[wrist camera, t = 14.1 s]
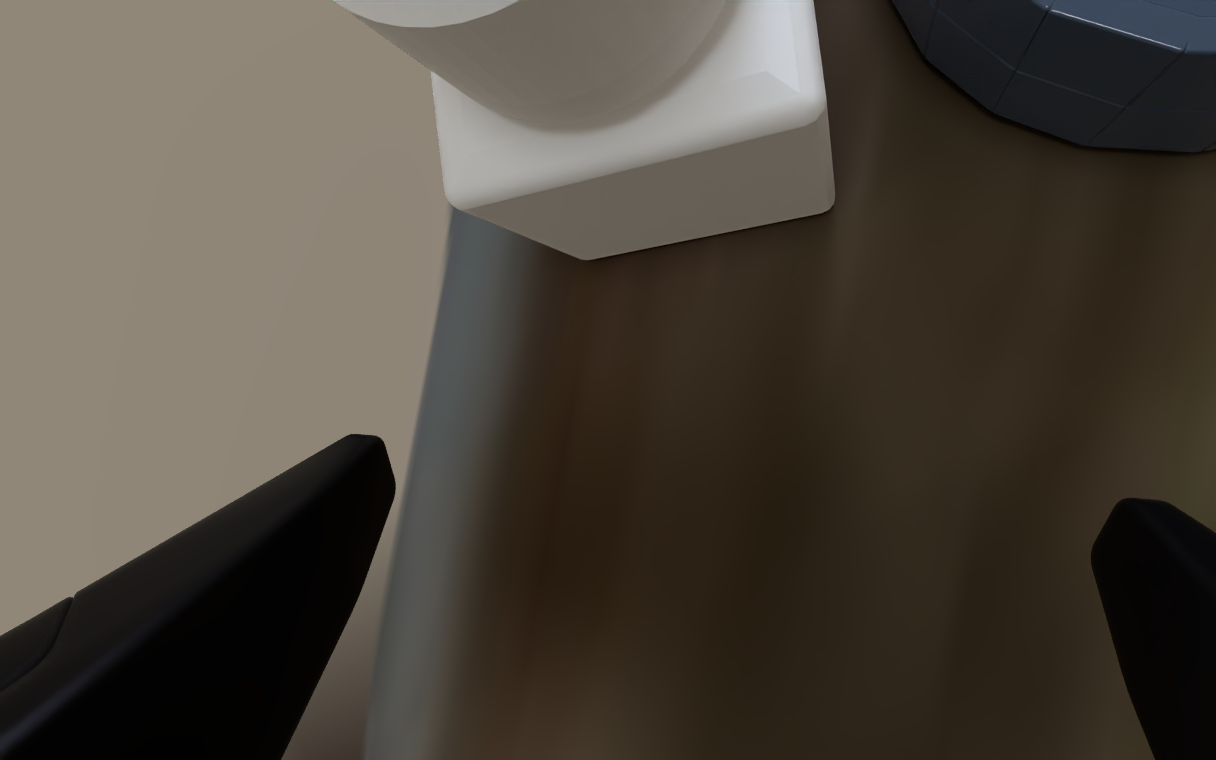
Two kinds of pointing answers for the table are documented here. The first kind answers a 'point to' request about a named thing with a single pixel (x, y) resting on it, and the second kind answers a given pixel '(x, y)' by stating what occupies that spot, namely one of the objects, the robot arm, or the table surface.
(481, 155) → the medicine bottle
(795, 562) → the table surface
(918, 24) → the blue round bowl
